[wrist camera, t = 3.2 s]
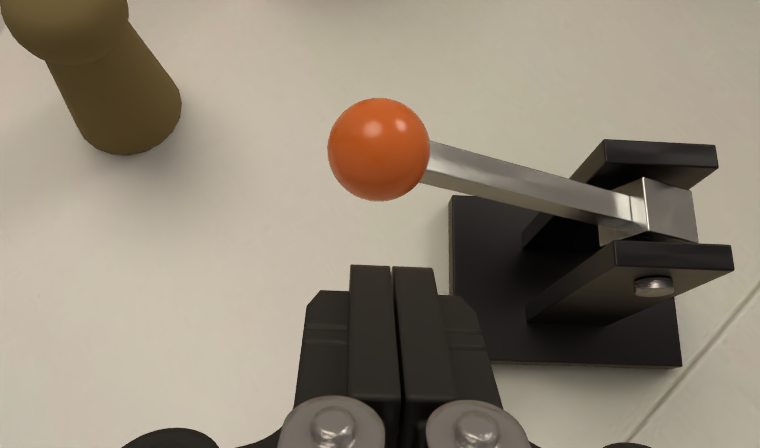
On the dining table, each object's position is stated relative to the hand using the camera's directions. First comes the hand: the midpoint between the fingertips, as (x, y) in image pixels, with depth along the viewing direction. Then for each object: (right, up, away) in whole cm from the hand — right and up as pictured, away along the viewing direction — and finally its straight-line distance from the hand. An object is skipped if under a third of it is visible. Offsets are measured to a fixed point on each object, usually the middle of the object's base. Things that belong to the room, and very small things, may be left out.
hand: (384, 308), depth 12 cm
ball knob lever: (+4, +2, +12) cm, 13 cm away
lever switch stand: (+10, -2, +24) cm, 26 cm away
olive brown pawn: (-15, +8, +26) cm, 31 cm away
